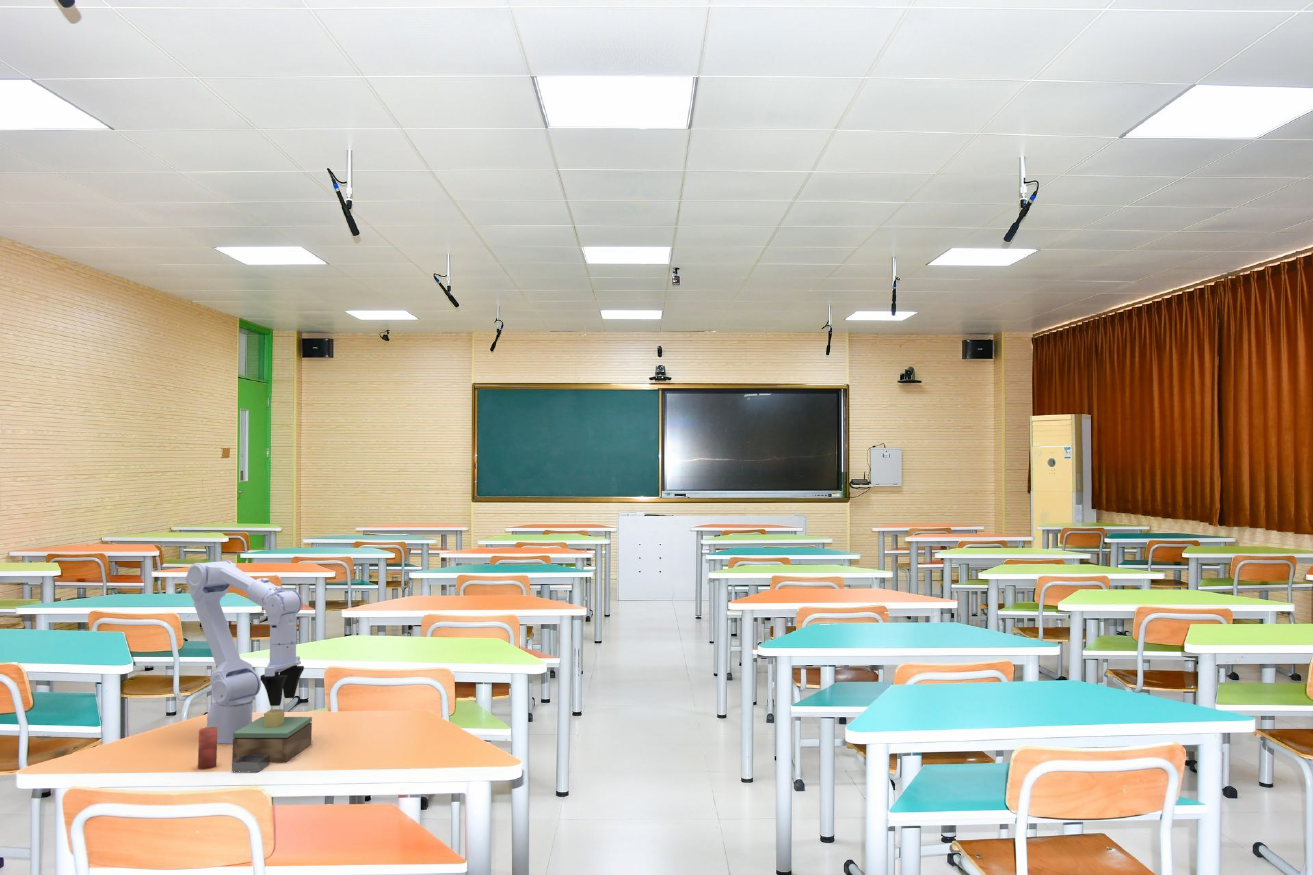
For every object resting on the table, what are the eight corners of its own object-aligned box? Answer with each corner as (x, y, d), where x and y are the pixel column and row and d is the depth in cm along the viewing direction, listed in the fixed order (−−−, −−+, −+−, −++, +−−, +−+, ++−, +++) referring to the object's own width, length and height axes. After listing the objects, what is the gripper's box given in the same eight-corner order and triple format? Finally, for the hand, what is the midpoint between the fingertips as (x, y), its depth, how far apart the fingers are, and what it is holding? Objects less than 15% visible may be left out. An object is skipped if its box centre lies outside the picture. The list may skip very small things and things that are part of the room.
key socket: (231, 771, 188) (232, 762, 188) (244, 763, 193) (244, 754, 194) (257, 772, 188) (258, 762, 188) (269, 763, 193) (269, 754, 194)
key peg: (194, 768, 190) (195, 731, 190) (203, 763, 193) (204, 726, 194) (211, 769, 190) (212, 731, 190) (219, 763, 193) (220, 726, 194)
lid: (232, 737, 195) (233, 719, 195) (261, 720, 209) (261, 703, 209) (287, 737, 195) (287, 719, 195) (311, 721, 209) (312, 704, 209)
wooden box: (232, 762, 195) (232, 739, 195) (260, 743, 209) (261, 722, 209) (286, 762, 195) (286, 739, 195) (311, 743, 209) (311, 722, 209)
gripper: (286, 647, 201) (285, 708, 200) (312, 637, 215) (311, 694, 214) (255, 648, 201) (255, 709, 200) (283, 638, 215) (283, 694, 214)
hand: (282, 701), depth 207 cm, fingers open, 7 cm apart
